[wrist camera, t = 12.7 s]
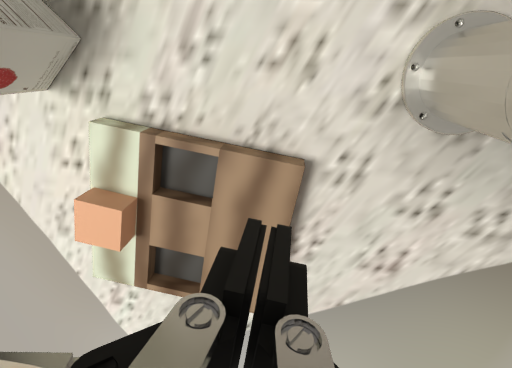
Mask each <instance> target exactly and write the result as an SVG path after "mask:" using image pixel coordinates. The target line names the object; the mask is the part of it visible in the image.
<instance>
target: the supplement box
mask: <svg viewBox="0 0 512 368" xmlns="http://www.w3.org/2000/svg"><path fill="white" fill-rule="evenodd" d="M79 41H80V37H79V36H78V35H77V34H76V33H75V32H74V31H73V30H72V29H71V28H70V27H69V26H68V25H67V24H66V23H65V22H64V21H63V20H62V19H61V18H60V17H58V16H57V15H56V14H55V13H54V12H53V11H52V10H51V9H50V8H49V7H48V6H47V5H46V4H45V3H44V2H43V1H42V0H0V95H4V94H14V93H24V92H34V91H44V90H47V89H48V87H49V86H50V84H51V83H52V81H53V80H54V78H55V77H56V75H57V74H58V73H59V71H60V70H61V68H62V67H63V65H64V64H65V62H66V61H67V59H68V58H69V56H70V55H71V53H72V52H73V50H74V49H75V47H76V46H77V44H78V43H79Z"/></svg>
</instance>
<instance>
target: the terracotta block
mask: <svg viewBox="0 0 512 368" xmlns="http://www.w3.org/2000/svg"><path fill="white" fill-rule="evenodd" d="M136 210H137V198H136V197H132V196H128V195H124V194H120V193H116V192H112V191H108V190H103V189H99V188H95V187H94V188H92V189H90V190H89V191H87V192H85V193H84V194H82V195H81V196H79V197H77V198H76V199H74V216H75V241H78V242H82V243H86V244H91V245H95V246H99V247H103V248H107V249H111V250H115V251H119V252H120V251H121V250H122V249H123V248H124V247H125V246H126V245H127V243H128V242H129V241H130V240H131V239H132V238H133V237H134V236H135V225H136Z"/></svg>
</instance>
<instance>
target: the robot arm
mask: <svg viewBox="0 0 512 368" xmlns="http://www.w3.org/2000/svg"><path fill="white" fill-rule="evenodd" d="M455 22H457V23H458V24H457V26H455ZM412 65H414V69H411V66H412ZM401 91H402V96H403V101H404V104H405V106H406V109H407V111H408V112H409V113H410V115H411V116H412V118H413V119H414V120H415V121H417V122H418V123H419V124H420V125H422V126H424V127H425V128H427V129H429V130H432V131H434V132H437V133H442V134H446V135H459V134H465V133H470V132H473V131H477V132H480V133H483V134H485V135H488V136H491V137H494V138H497V139H499V140H502V141H505V142H508V143H511V144H512V19H510V18H509V17H507V16H505V15H503V14H500V13H496V12H493V11H473V12H467V13H463V14H459V15H456V16H454V17H452V18H449V19H447V20H445V21H443V22H441V23H440V24H438V25H437V26H435V27H433V28H432V29H431V30H430V31H429V32H428V33H427V34H425V35H424V36H423V37H422V39H421V40H420V41H419V42H418V43H417V44H416V46H415V47H414V49H413V50H412V52H411V54H410V55H409V57H408V60H407V62H406V65H405V67H404V71H403V76H402V89H401ZM421 113H422V116H421V117H419V115H420V114H421ZM266 227H267V225H262V220H257V219H252V218H248V220H247V223H246V226H245V229H244V232H243V235H242V238H241V241H240V244H239V247H238V250H235V249H230V248H226V247H220V249H219V251H218V253H217V256H216V258H215V260H214V262H213V265H212V267H211V269H210V272H209V274H208V276H207V278H206V281H205V283H204V285H203V288H202V290H201V292H200V293H194V294H190V295H187V296H185V297H183V298H181V299H180V300H179V301H178V302H177V303H176V305H175V306H174V307H173V309H172V310H171V311H170V313H169V314H168V315H167V317H166V318H165V319H164V321H162V322H160V323H158V324H155V325H153V326H150V327H148V328H145V329H143V330H140V331H138V332H135V333H133V334H130V335H128V336H126V337H123V338H121V339H118V340H116V341H114V342H111V343H108V344H106V345H103V346H101V347H98V348H96V349H94V350H92V351H90V352H88V353H86V354H84V355H83V356H81V357H73V354H72V353H50V352H49V353H48V352H0V368H238V365H239V359H240V355H241V350H242V345H243V340H244V336H245V331H246V326H247V321H248V316H249V312H250V307H251V302H252V297H253V292H254V287H255V283H256V278H257V273H258V268H259V263H260V257H261V252H262V247H263V242H264V237H265V232H266ZM291 229H292V227H290V226H286V225H281V224H277V227H272V226H271V230H270V235H269V240H268V245H267V250H266V255H265V259H264V264H263V269H262V274H261V279H260V284H259V289H258V294H257V299H256V305H255V310H254V315H253V320H252V326H251V331H250V336H249V342H248V347H247V352H246V358H245V363H244V368H338V366H337V365H336V364H335V363H334V362H333V359H332V355H331V352H330V348H329V344H328V340H327V337H326V335H325V332H324V331H323V329H322V328H321V327H320V326H319V325H318V324H317V323H316V322H315V321H313V320H311V319H310V318H308V299H307V267H306V265H304V264H299V263H295V262H290V246H291Z"/></svg>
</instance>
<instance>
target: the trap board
mask: <svg viewBox="0 0 512 368" xmlns="http://www.w3.org/2000/svg"><path fill="white" fill-rule="evenodd" d="M89 157H90V189H92V188H94V187H95V188H99V189H103V190H108V191H112V192H116V193H120V194H124V195H128V196H132V197H136V198H137V210H136V225H135V236H134V237H133V238H132V239H131V240H130V241H129V242H128V243H127V245H126V246H125V247H124V248H123V249H122V250H121V251H120V252H119V251H115V250H111V249H107V248H103V247H99V246H95V245H92V262H93V277H96V278H101V279H105V280H109V281H114V282H118V283H123V284H127V285H132V286H136V287H140V288H145V289H149V290H154V291H158V292H163V293H167V294H172V295H176V296H180V297H185V296H187V295H190V294H194V293H200V292H201V290H202V288H203V285H204V283H205V281H206V278H207V276H208V274H209V272H210V269H211V267H212V265H213V262H214V260H215V258H216V256H217V253H218V251H219V249H220V247H226V248H230V249H235V250H238V247H239V244H240V241H241V238H242V235H243V232H244V229H245V226H246V223H247V220H248V218H252V219H257V220H262V225H267V227H266V232H265V237H264V242H263V247H262V252H261V257H260V263H259V268H258V273H257V278H256V283H255V287H254V292H253V297H252V302H251V307H250V312H251V313H254V310H255V305H256V299H257V294H258V289H259V284H260V279H261V274H262V269H263V264H264V259H265V255H266V250H267V245H268V240H269V235H270V230H271V226H272V227H277V224H281V225H286V226H290V223H291V219H292V215H293V211H294V207H295V204H296V200H297V196H298V192H299V188H300V184H301V181H302V177H303V173H304V169H305V163H304V160H303V159H299V158H294V157H289V156H284V155H279V154H275V153H270V152H265V151H260V150H255V149H251V148H246V147H241V146H236V145H231V144H227V143H222V142H217V141H212V140H207V139H203V138H198V137H193V136H188V135H184V134H179V133H174V132H169V131H164V130H160V129H155V128H150V127H145V126H140V125H136V124H131V123H126V122H121V121H116V120H112V119H107V118H99V119H96V120H92V121H89Z"/></svg>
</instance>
